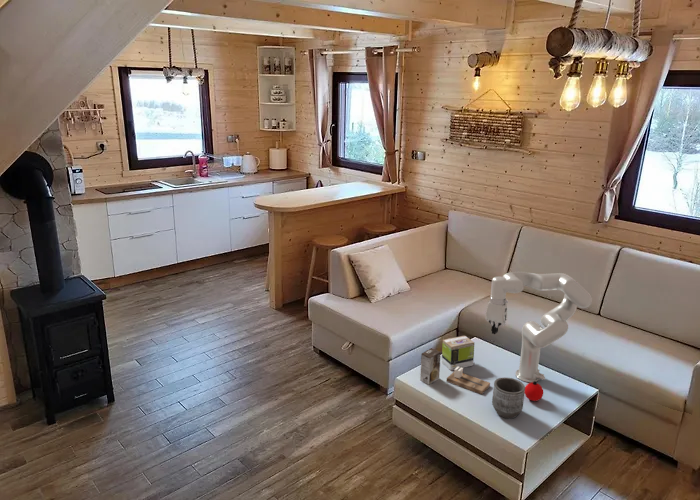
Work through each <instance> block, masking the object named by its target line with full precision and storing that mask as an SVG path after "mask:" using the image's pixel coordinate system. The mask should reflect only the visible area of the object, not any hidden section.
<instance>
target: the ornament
mask: <svg viewBox="0 0 700 500" xmlns="http://www.w3.org/2000/svg"><path fill="white" fill-rule="evenodd" d="M524 396H525V397H526V398H527V399H528V400H530V401H532V402H537V401H540V400H541V399H542V398H543V396H544V389H543V387H542V385H541V384H539V383H538V381H537V382H536V381H534V382H528V383H527V384H526V385H525V394H524Z"/></svg>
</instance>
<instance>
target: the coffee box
mask: <svg viewBox="0 0 700 500" xmlns="http://www.w3.org/2000/svg"><path fill="white" fill-rule="evenodd" d="M441 352H442V351H439V350H437V349H435V348H433V347H431V348H429V349H427V350H425V351H424V352H422V353H421V356H420V359H421V360H420V373H419V374H420V377H419V380H420V381H421V382H423V383H425V384H427V385H431V384H433V383H434V382H436V381H438V380H439V379H440V372H441V356H442V353H441Z"/></svg>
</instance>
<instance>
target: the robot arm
mask: <svg viewBox="0 0 700 500" xmlns="http://www.w3.org/2000/svg"><path fill="white" fill-rule="evenodd" d="M524 287H529V288H531V289H534V290H536V291H544V292H545V291H561V292H563V294H564V295H563V299H562V301H561V302H560V304H558V305H556V306H554V308H552V309H550V310H549V311H547V312H545V313H544V314H543V315H541V318H540V323H541V325H542V326H541V325H540V323H537V322H536V321H531V320H530V321H527V322H524V324H523V326H522V328H521V337H522V338H521V350H520V359H519V367H518V369H517V370H516V371H515V373H514V374H515V377H516V379H517V380H518V379H519V381H521V382H522V381H523V382H525V383H532V382H534V381H536V382H537V383H538V381H540V380H542V381H545V380H546V376H545V374H543V373H540V369H539V365H540V363H539V362H540V357H541V349H543V348H547V347H548V346H550V345H551V344H553V343H554V342H556V341H558V340H559V339H561V338H562V337H564V336H565V335H566V334H567V333H568V329H569V324H568V322H567V321H568V320H569V319H570V318H571V317H573V316H574V314H575V313H576V311H577V308H579V309H586V308H589V307H590V306H591V305H592V302H593V296H592V295H591V294H590V293H589V291H587V290H586V289H585V288H584V287H583V286H582V285H581V284H580V283H579V282H578V281H577V280H575V278H573V277H572V276H570V275H568V274H567V273H563V272H558V273H557V272H556V273H555V272H554V273H534V272H528V271H527V272H526V271H511V272H507V273H505V274H503V275H502V276H501V275H500V276H494V277H493V278H492V280H491V287H490V297H489V301H488V303H487V306H486V311H485V319H484V320H485V321H486V322H488V323H489V324H490V327H491V328H490V329H491V334H493V335H496V334H497V333H499V327H500V326H506V324H507V322H506V321H507V320H508V305H507V304H508V302H509V300H507V299H506V298H507V293H511V294H518V293H519V294H520V293H522V292H523V291H524ZM543 327H544V328H543Z"/></svg>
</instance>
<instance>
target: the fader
mask: <svg viewBox="0 0 700 500" xmlns="http://www.w3.org/2000/svg"><path fill="white" fill-rule="evenodd" d="M453 372H454V377H456V378H460V377H461V376H463V373H464V368H461V367H459V366H458V367H457V368H455V369H454V371H453Z"/></svg>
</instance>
